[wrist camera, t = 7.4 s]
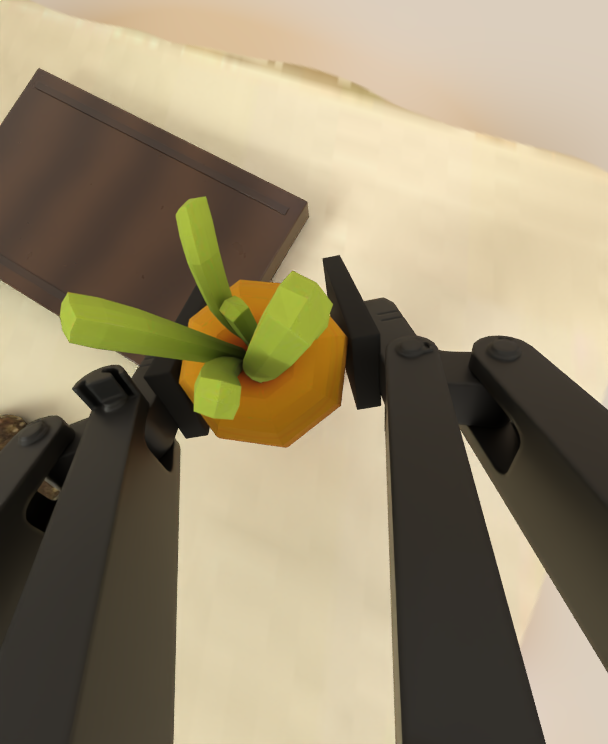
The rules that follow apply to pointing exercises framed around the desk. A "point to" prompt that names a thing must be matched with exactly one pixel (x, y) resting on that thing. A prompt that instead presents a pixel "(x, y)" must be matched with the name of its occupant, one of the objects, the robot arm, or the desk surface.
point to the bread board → (122, 205)
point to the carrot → (232, 343)
